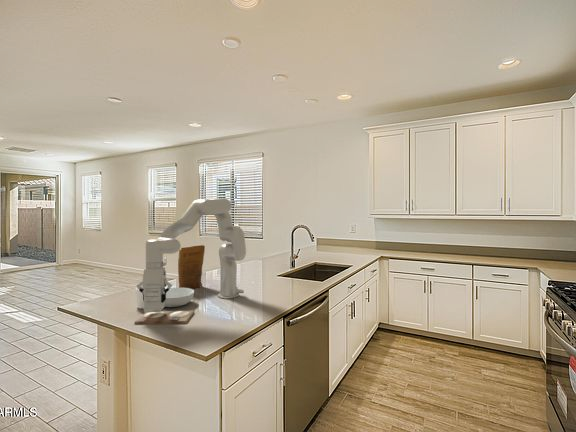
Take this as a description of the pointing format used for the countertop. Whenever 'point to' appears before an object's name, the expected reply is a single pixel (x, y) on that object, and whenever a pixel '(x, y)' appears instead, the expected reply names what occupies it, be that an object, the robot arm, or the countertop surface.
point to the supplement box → (152, 298)
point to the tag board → (165, 317)
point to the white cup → (139, 299)
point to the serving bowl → (178, 297)
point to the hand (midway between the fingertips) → (154, 301)
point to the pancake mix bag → (190, 266)
